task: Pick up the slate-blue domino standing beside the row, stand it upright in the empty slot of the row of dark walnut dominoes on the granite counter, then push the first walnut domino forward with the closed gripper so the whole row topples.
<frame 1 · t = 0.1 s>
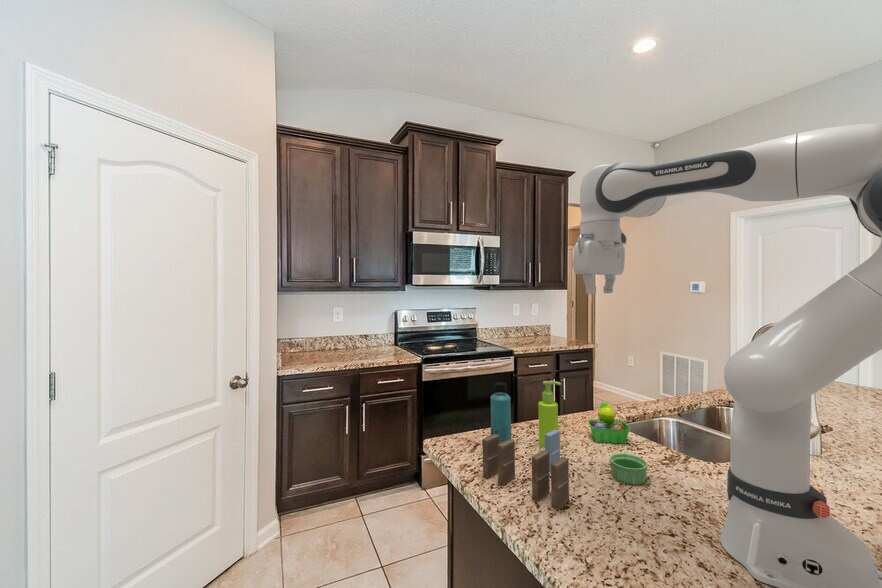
hand: (600, 293, 92), 48 cm above the countertop, tool pointing down, fingers open, 8 cm apart
ramekin: (628, 478, 99), on the countertop
beverage bottle: (501, 447, 119), on the countertop
domino 5: (491, 474, 102), on the countertop
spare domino: (552, 469, 104), on the countertop
soap dispenser: (550, 445, 120), on the countertop
fruit basket: (608, 439, 124), on the countertop
domino 2: (540, 496, 91), on the countertop
domino 1: (560, 504, 87), on the countertop
domino 4: (506, 481, 98), on the countertop
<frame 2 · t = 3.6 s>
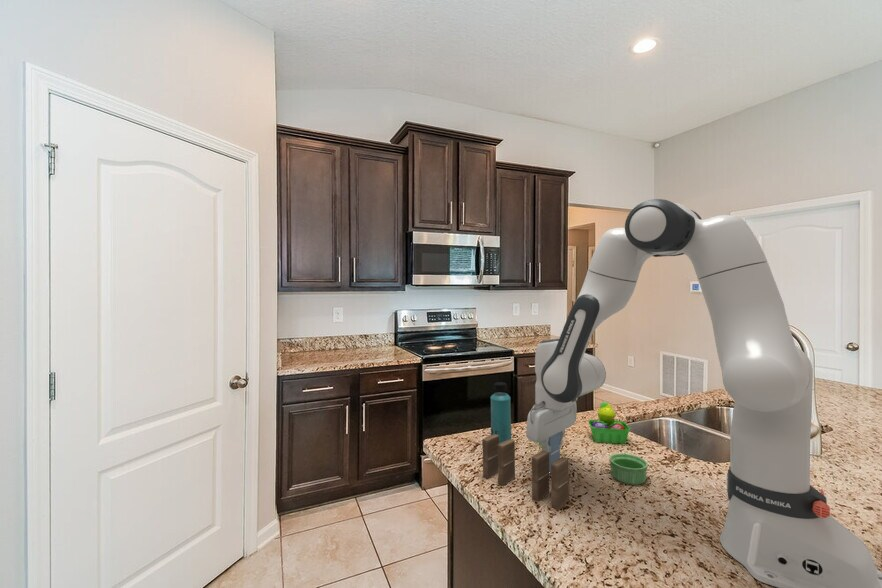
hand: (552, 448, 104), 6 cm above the countertop, tool pointing down, fingers closed on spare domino, 5 cm apart
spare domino: (552, 469, 104), on the countertop, touching gripper
everything else where it was.
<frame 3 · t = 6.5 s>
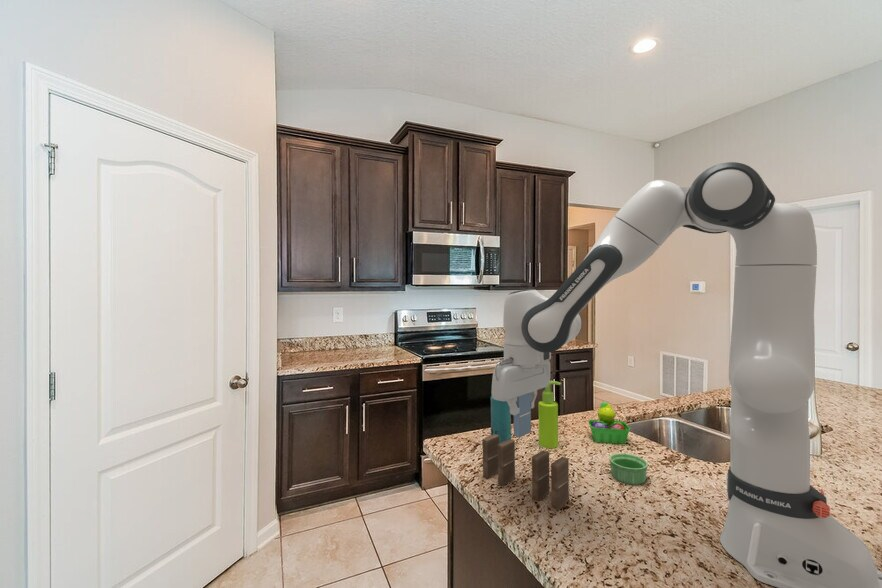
hand: (522, 411, 94), 19 cm above the countertop, tool pointing down, fingers closed on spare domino, 5 cm apart
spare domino: (522, 433, 94), point 13 cm above the countertop, touching gripper
everything else where it was.
when the fingers open (6 cm above the countertop, at t = 9.3 s): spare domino stays where it is, on the countertop.
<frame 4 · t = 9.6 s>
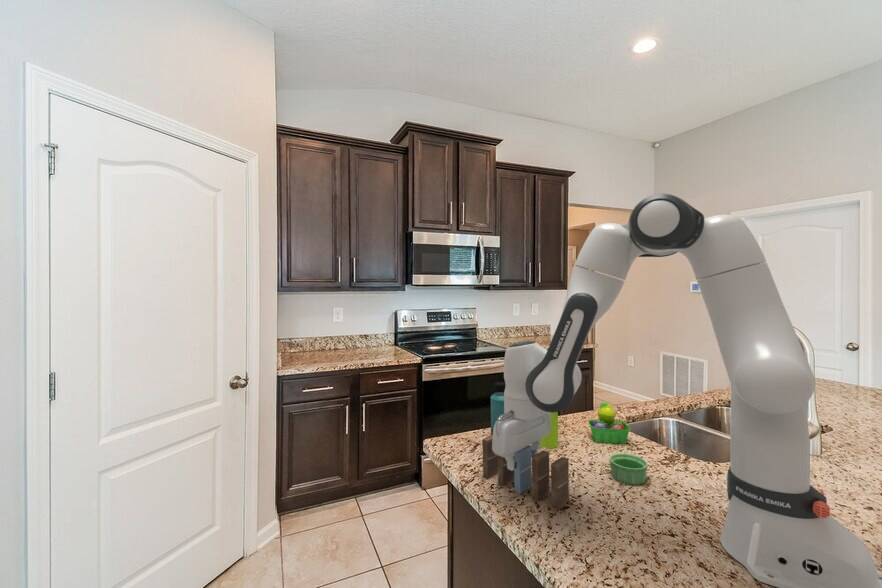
hand: (523, 462, 94), 6 cm above the countertop, tool pointing down, fingers open, 8 cm apart
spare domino: (523, 488, 94), on the countertop
everything else where it was.
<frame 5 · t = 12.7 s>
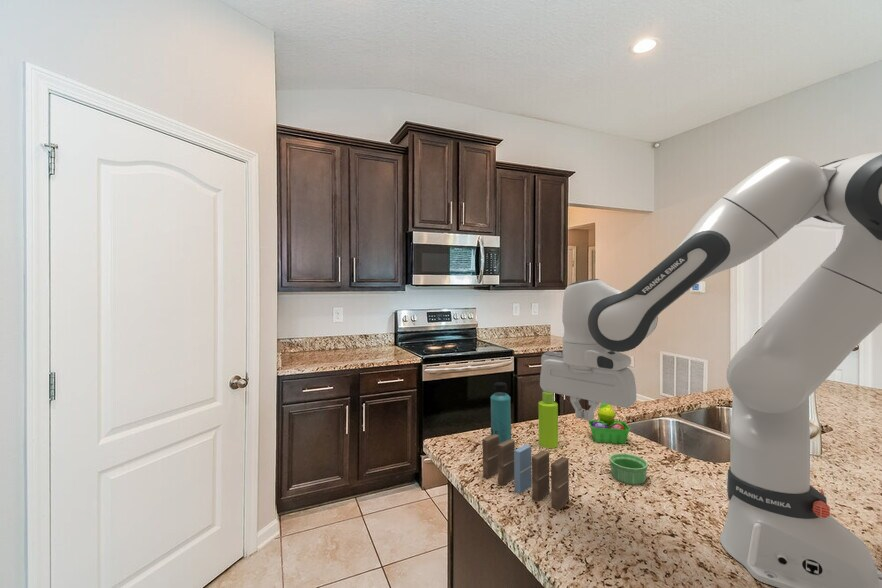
hand: (584, 418, 82), 21 cm above the countertop, tool pointing down, fingers closed
nothing on the countertop moved.
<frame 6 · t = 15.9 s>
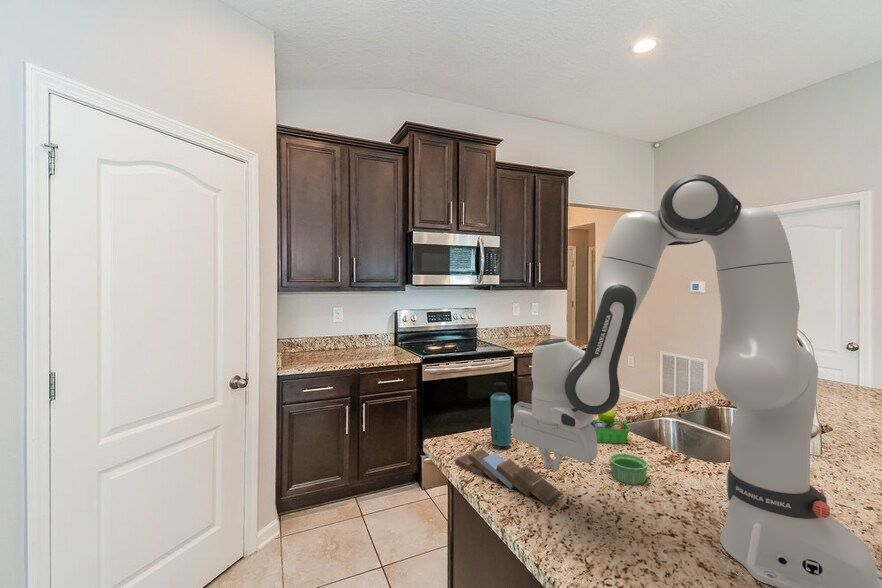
hand: (551, 468, 88), 8 cm above the countertop, tool pointing down, fingers closed
domino 5: (488, 470, 102), point 1 cm above the countertop, tilted 90°, touching domino 4
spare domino: (517, 482, 96), point 1 cm above the countertop, tilted 71°, touching domino 2, domino 4
domino 2: (534, 490, 92), point 1 cm above the countertop, tilted 71°, touching domino 1, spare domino
domino 1: (554, 498, 88), point 1 cm above the countertop, tilted 71°, touching domino 2
domino 4: (502, 476, 99), point 1 cm above the countertop, tilted 71°, touching domino 5, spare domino
everything else where it was.
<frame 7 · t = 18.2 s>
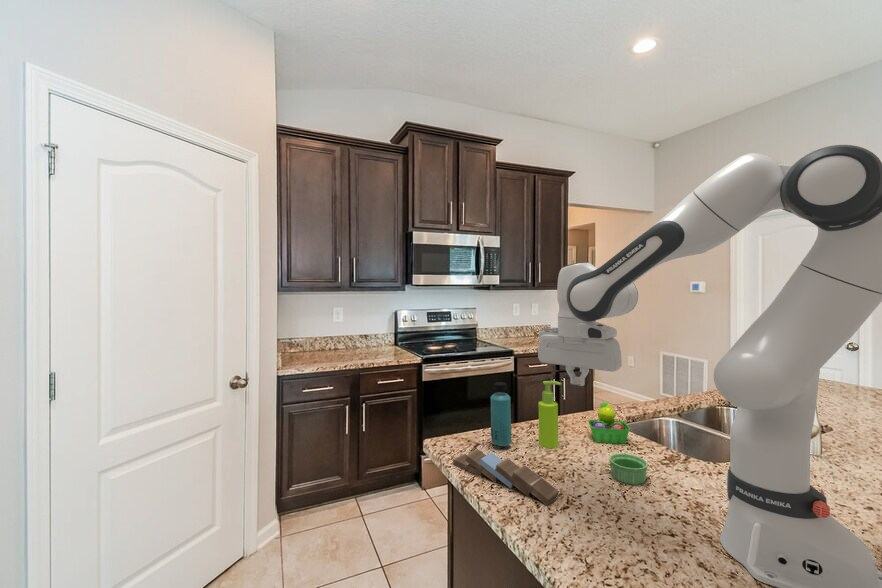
hand: (577, 384, 94), 25 cm above the countertop, tool pointing down, fingers closed
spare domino: (516, 481, 96), point 1 cm above the countertop, tilted 70°, touching domino 2, domino 4
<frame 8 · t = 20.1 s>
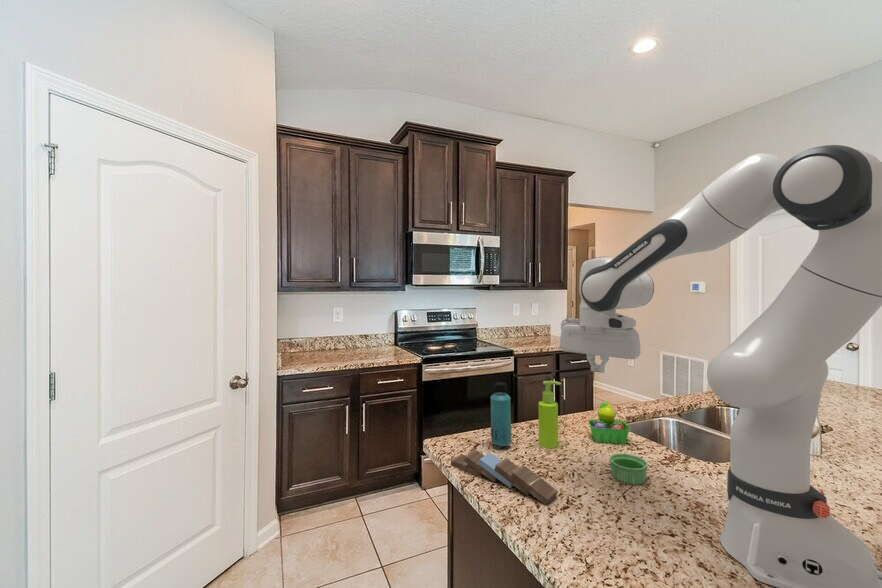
hand: (597, 371, 100), 27 cm above the countertop, tool pointing down, fingers closed
at the end: domino 5 tilted 90°; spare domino 1.8 cm from the target spot, point 0.8 cm above the countertop; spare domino tilted 70° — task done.
